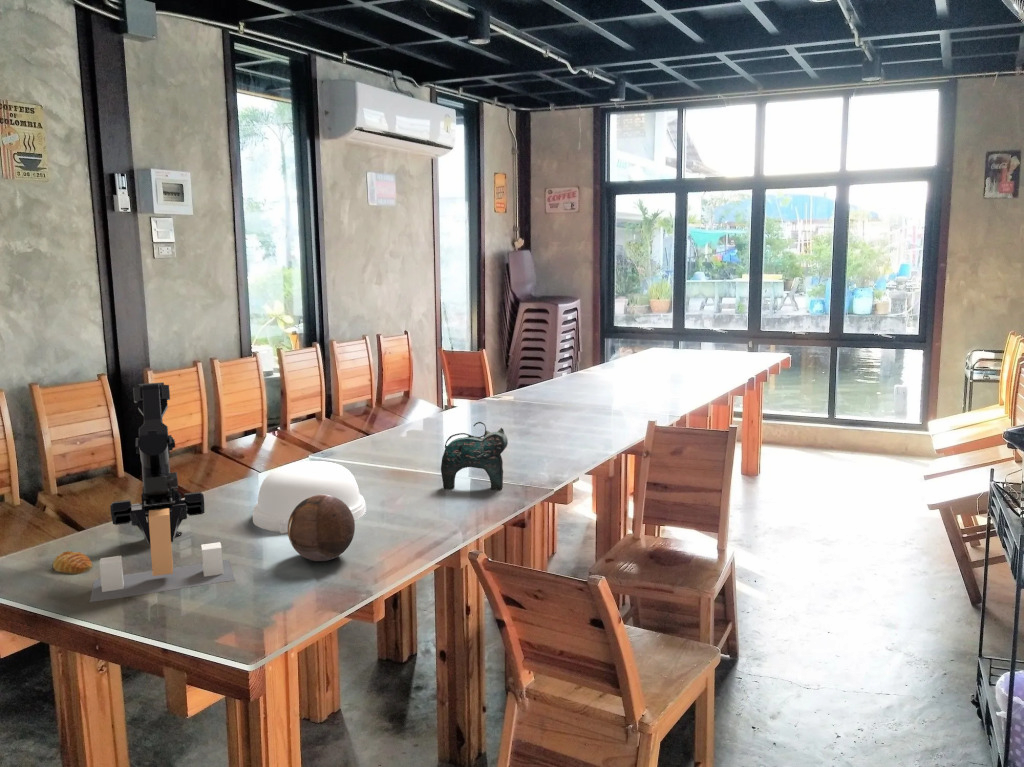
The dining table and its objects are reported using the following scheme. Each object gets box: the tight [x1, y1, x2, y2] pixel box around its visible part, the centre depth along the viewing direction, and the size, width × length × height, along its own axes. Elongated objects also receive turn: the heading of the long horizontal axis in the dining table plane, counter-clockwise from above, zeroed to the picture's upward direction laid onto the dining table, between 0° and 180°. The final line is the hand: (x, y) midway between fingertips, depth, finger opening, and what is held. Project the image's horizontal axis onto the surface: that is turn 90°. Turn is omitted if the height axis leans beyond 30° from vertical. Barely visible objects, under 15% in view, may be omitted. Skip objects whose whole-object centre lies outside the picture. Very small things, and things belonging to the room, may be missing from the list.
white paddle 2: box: [200, 541, 223, 577], centre depth 188 cm, size 4×4×6 cm
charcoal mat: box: [89, 559, 235, 603], centre depth 185 cm, size 14×28×1 cm, turn 112°
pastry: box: [52, 550, 93, 575], centre depth 193 cm, size 9×7×4 cm
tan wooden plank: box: [149, 508, 174, 576], centre depth 183 cm, size 5×4×13 cm
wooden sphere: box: [287, 495, 356, 562], centre depth 196 cm, size 15×15×15 cm
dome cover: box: [252, 460, 367, 534], centre depth 231 cm, size 32×30×14 cm
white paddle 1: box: [98, 555, 124, 592], centre depth 180 cm, size 4×4×6 cm
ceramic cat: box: [440, 421, 509, 490], centre depth 254 cm, size 20×6×20 cm, turn 84°
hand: (160, 542), depth 182 cm, fingers closed on tan wooden plank, 4 cm apart
